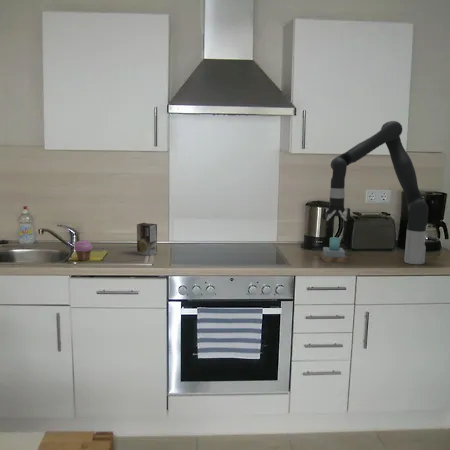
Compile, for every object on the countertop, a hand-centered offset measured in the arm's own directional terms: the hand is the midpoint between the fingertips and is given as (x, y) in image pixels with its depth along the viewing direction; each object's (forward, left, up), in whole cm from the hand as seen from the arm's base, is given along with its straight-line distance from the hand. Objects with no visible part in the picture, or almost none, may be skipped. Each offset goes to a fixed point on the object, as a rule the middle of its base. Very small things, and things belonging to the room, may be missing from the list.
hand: (335, 227), depth 283 cm
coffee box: (+99, -6, -17) cm, 101 cm away
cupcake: (+129, +10, -17) cm, 131 cm away
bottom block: (0, 0, -18) cm, 18 cm away
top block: (0, 0, -15) cm, 15 cm away
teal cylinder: (0, 0, -12) cm, 12 cm away
